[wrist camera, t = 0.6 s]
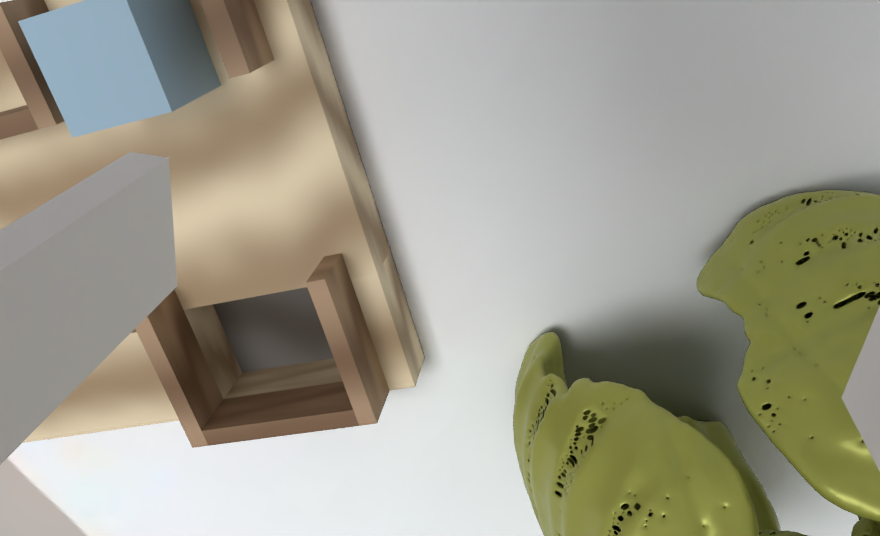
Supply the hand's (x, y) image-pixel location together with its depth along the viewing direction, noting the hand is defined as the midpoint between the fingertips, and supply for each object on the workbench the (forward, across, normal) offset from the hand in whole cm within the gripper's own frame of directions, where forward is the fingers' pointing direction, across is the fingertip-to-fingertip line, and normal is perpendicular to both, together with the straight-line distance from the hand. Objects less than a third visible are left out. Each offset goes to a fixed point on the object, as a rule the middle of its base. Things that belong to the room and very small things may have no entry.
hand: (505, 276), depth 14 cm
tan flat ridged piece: (+25, -21, -12) cm, 35 cm away
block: (+22, -18, -2) cm, 28 cm away
